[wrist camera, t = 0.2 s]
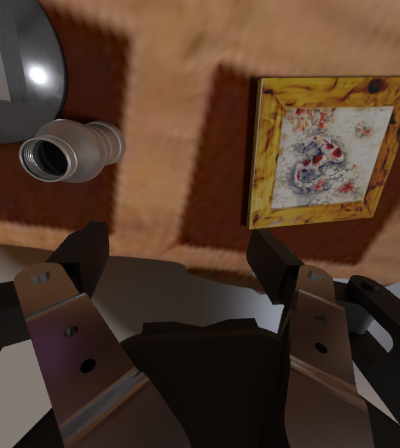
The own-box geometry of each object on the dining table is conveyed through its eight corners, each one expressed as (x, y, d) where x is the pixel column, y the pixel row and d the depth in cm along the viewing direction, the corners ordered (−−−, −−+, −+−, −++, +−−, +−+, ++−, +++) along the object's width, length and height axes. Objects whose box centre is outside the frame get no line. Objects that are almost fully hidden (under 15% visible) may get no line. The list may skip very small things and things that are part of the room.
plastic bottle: (132, 159, 36) (99, 193, 19) (92, 164, 36) (19, 202, 18) (123, 118, 34) (74, 112, 16) (79, 122, 33) (-23, 120, 15)
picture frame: (372, 217, 48) (249, 229, 44) (364, 213, 50) (245, 224, 46) (424, 77, 36) (262, 78, 33) (411, 79, 38) (256, 80, 35)
